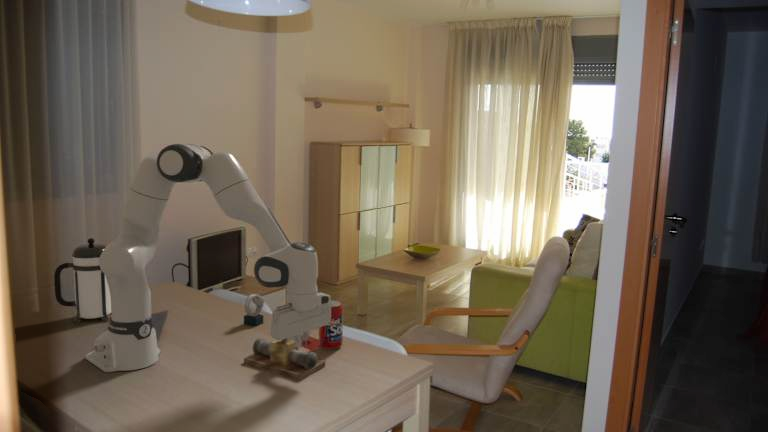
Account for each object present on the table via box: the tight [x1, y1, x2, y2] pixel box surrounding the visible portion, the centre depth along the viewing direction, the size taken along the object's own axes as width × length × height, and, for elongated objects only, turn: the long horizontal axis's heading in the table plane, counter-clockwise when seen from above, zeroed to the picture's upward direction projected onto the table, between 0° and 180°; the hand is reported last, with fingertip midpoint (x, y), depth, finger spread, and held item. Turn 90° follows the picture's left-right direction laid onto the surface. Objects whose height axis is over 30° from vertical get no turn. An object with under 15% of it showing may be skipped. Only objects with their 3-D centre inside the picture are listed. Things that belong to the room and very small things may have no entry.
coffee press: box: [53, 237, 111, 324], centre depth 209 cm, size 17×16×30 cm
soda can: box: [318, 299, 344, 350], centre depth 190 cm, size 8×8×15 cm
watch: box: [243, 293, 265, 327], centre depth 210 cm, size 6×8×11 cm
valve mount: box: [243, 337, 326, 381], centre depth 175 cm, size 22×12×9 cm, turn 60°
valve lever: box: [287, 335, 320, 352], centre depth 170 cm, size 16×3×3 cm, turn 48°
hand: (301, 346), depth 165 cm, fingers closed
